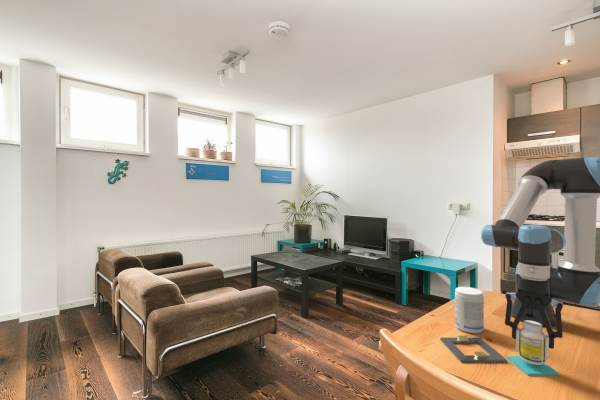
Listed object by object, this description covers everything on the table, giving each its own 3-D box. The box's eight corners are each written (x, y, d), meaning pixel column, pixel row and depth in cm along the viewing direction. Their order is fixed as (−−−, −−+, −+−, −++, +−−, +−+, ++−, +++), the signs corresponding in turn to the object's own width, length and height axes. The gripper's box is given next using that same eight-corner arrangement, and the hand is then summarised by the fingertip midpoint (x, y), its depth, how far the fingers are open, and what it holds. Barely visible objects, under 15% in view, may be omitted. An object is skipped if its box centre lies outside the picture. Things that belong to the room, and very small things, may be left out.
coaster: (535, 357, 94) (535, 356, 94) (559, 375, 85) (559, 373, 85) (506, 357, 95) (506, 356, 95) (527, 375, 86) (527, 373, 86)
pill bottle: (530, 353, 94) (530, 318, 93) (550, 364, 88) (551, 327, 87) (514, 355, 92) (514, 320, 92) (533, 367, 86) (534, 329, 86)
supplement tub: (488, 330, 114) (489, 291, 113) (475, 336, 108) (476, 296, 108) (462, 320, 122) (463, 284, 121) (449, 326, 116) (450, 289, 116)
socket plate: (480, 339, 106) (480, 334, 106) (507, 362, 92) (507, 356, 92) (440, 339, 106) (440, 334, 106) (461, 362, 92) (461, 356, 92)
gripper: (493, 274, 93) (492, 348, 93) (577, 287, 80) (575, 371, 81) (497, 269, 98) (496, 338, 99) (576, 280, 86) (574, 359, 87)
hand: (532, 353), depth 90 cm, fingers closed on pill bottle, 6 cm apart
